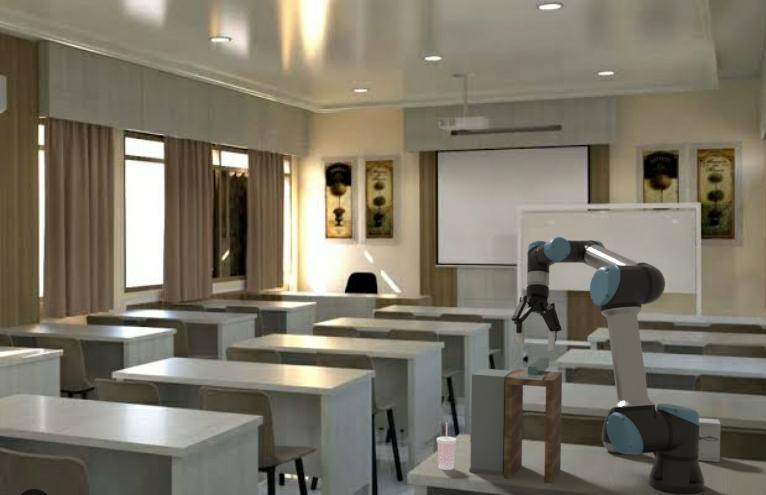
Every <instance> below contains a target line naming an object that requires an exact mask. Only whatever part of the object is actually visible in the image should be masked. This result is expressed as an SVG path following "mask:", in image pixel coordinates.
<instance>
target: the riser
mask: <svg viewBox="0 0 766 495" xmlns="http://www.w3.org/2000/svg"><path fill="white" fill-rule="evenodd" d="M519 373H522V374H528V369H520V368H517V369H515V370H513V372H512V373H511V374H509V375H508V376H506V377H505V433H504V475H503V479H507V480H508V479H509V480H511V479H512V478H513V476H514V475H516V473H517V471H518V470H520V468H521V467H522V466H523V465H522V464H523V458H522V457H523V411H524V410H523V408H524V406H523V405H524V404H523V403H524V396H523V395H524V386H527V387H528V386H531V387H543V388H545V418H544V419H545V421H544V422H545V423H544V424H545V425H544V428H545V430H544V431H545V432H544V477H543V478H544V481H543V482H544V483H545V484H553V482H554V480H555V479H556V477H557V475H558V474H559V472H560V471H561V465H562V463H561V462H562V461H561V459H562V458H561V454H562V453H561V452H562V451H561V450H562V447H561V446H562V398H563V396H562V394H563V393H562V392H563V390H562V389H563V387H562V386H563V372H562V371H561V372H560V371H551V370H550V371H549V370H548V371H547V370H545V371H543V372H542V373H541V374H540V375H546V377H545V378H544V379H543V380H530V379H517V378H515V376H516V375H517V374H519Z"/></svg>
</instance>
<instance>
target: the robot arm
mask: <svg viewBox="0 0 766 495" xmlns="http://www.w3.org/2000/svg"><path fill="white" fill-rule="evenodd" d="M526 254H527V265H526V266H527V267H526V268H527V271H526V284H527V286H526V294H525V295H522V296H519V301H518V304H517V306H516V308H515V309H514V311H513V312H514V313H513V314H512V317H511V321H512V322H513V323H514V325H516V326H515V328H516V329H515V332H516V334H517V336H516V337H517V338H516V339H517V340H516V341H517V342H516V344H517V345H521V344H525V336H526V335H525V334H526V333H525V332H526V331H525V329H526V324H525V323H524V322H525V321H526V319H527V318H528V317H529V315H530V314H531V313H536V314H538V315H539V316H541V317H542V319H543V321H544V323H545V325H546V326H547V328H548V330H549V332H547V333H548V334H547V352H553V351H555V350H556V342H557V337H558V336H557V333H558V332H561V331H562V330H563V329H562V326H561V322H560V320H559V317H558V314H557V311H556V304H555V303H554V302H548V299H549V297H550V287H549V285H550V267H551V266H553V265H554V264H558V263H559V264H561V263H562V264H564V263H566V264H567V263H569V264H571V263H573V264H574V263H575V264H577V263H583V264H584V265H587V266H588V267H589V266H590V267H591V268H593V269H596V271H595V272H594V274H593V276H592V277H591V280H590V284H589V293H590V299H591V301H592V303H594V305H596V306H598V307H599V308H600V314H601V315H603V316H604V317H605V318H606V320H607V321H606V322H607V328H608V336H609V345H610V351H611V352H610V353H611V359H612V360H611V361H612V368H613V376H614V384H615V392H616V393H615V394H616V402H615V404H614V405H613V406H612V408H613V414H611V415H610V416H609V417H608V422H607V433H608V437H609V439H610V441H611V443H612V445H613V446H614V447H615V448H616V449H617V450H618V451H619V452H621V453H620V454H623V455H636V456H638V455H641V454H651V453H652V454H653V453H654V452H656V456H655V460H654V462H653V464H652V467H651V470H650V472H649V476H648V477H649V478H648V479H649V483H648V484H649V485H650V486H651V487H653V488H654V489H657V490H660V491H665V492H669V493H676V494H696V493H700V492H701V493H702V492H703V491H704V490H705V478H704V474H703V473H702V469H701V465H700V462H699V461H700V460H698V454H699V426H700V424H699V418H700V415H699V413H698V411H697V410H696V409H693V408H690V407H686V406H682V405H677V404H671V403H670V404H669V403H658V404H657V406H656V403H654V401H652V400H651V399H650V398H649V394H648V392H649V391H648V386H647V380H646V378H647V377H646V372H645V370H646V369H645V365H644V356H643V349H642V341H641V333H640V326H639V319H638V318H639V317H638V315H639V313H640V312H641V311H642V307H643V306H642V305H649V304H652V303H654V302H656V301H657V300H659V298H661V296H662V295H663V293H664V291H665V287H666V280H665V276H664V274H663V273H662V271H661V270H660V269H659V268H657V267H656V266H654V265H652V264H649V263H647V262H643V261H642V262H641V261H640V262H637V261H634V260H633V259H630V258H628V257H625V256H623V255H621V254H619V253H616V252H614V251H612V250H610V249H608V248H606V247H605V245H604V244H603V243H602V242H601V241H599V240H593V239H590V240H572V239H571V240H570V239H569V240H567V239H566V238H564V237H562V236H557V237H554V238H551V239H549V240H548V241H544V240H535V241H531V242H530V243H528V248H527V253H526ZM524 309H525V310H524Z"/></svg>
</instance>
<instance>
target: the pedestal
mask: <svg viewBox="0 0 766 495" xmlns="http://www.w3.org/2000/svg"><path fill="white" fill-rule="evenodd" d="M512 372H514V370H506V369H496V368H495V369H494V368H480V369H478V370H477V371H475V372H474V373H471V399H470V400H471V401H470V402H471V406H470V407H471V409H470V410H471V412H470V413H471V414H470V417H471V418H470V432H471V441H470V467H469V470H468V472H469V473H470V472H471V473H479V474H489V475H498V476H504V433H505V377H506V376H508V375H509V374H511V373H512Z"/></svg>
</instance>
